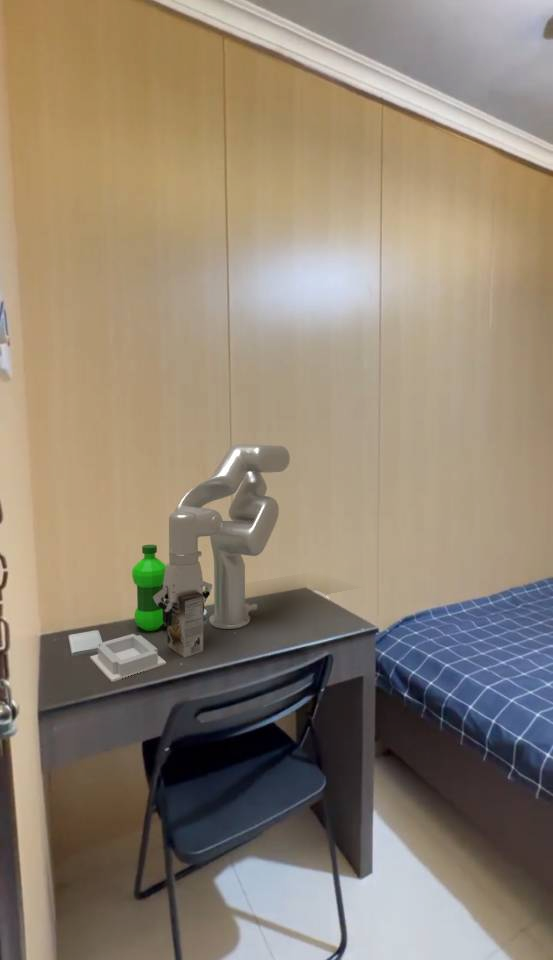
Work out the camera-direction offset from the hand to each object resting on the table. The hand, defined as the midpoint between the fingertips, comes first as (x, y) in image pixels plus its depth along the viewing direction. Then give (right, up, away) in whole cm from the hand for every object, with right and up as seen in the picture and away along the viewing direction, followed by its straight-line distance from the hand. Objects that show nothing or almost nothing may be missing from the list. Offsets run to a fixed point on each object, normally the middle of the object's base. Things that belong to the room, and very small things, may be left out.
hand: (184, 620), depth 131 cm
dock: (-13, -9, -6) cm, 17 cm away
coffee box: (0, -8, +1) cm, 9 cm away
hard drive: (-28, -9, +4) cm, 30 cm away
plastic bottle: (-13, -7, +15) cm, 21 cm away
